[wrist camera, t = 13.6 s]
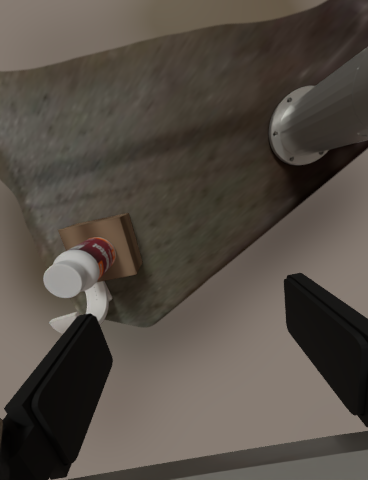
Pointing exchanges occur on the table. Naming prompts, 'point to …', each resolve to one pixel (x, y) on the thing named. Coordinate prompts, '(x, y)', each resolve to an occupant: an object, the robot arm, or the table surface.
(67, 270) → the pill bottle
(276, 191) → the table surface
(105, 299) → the headphone stand
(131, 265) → the walnut block
